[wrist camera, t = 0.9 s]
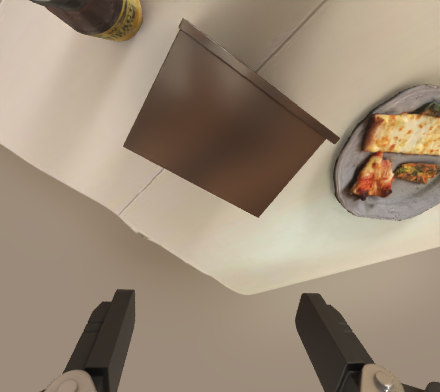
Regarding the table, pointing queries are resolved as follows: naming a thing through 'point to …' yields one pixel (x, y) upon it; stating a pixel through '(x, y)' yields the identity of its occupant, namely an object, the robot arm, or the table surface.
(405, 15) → the table surface
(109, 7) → the sauce bottle
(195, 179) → the shelf
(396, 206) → the food plate
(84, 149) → the table surface
